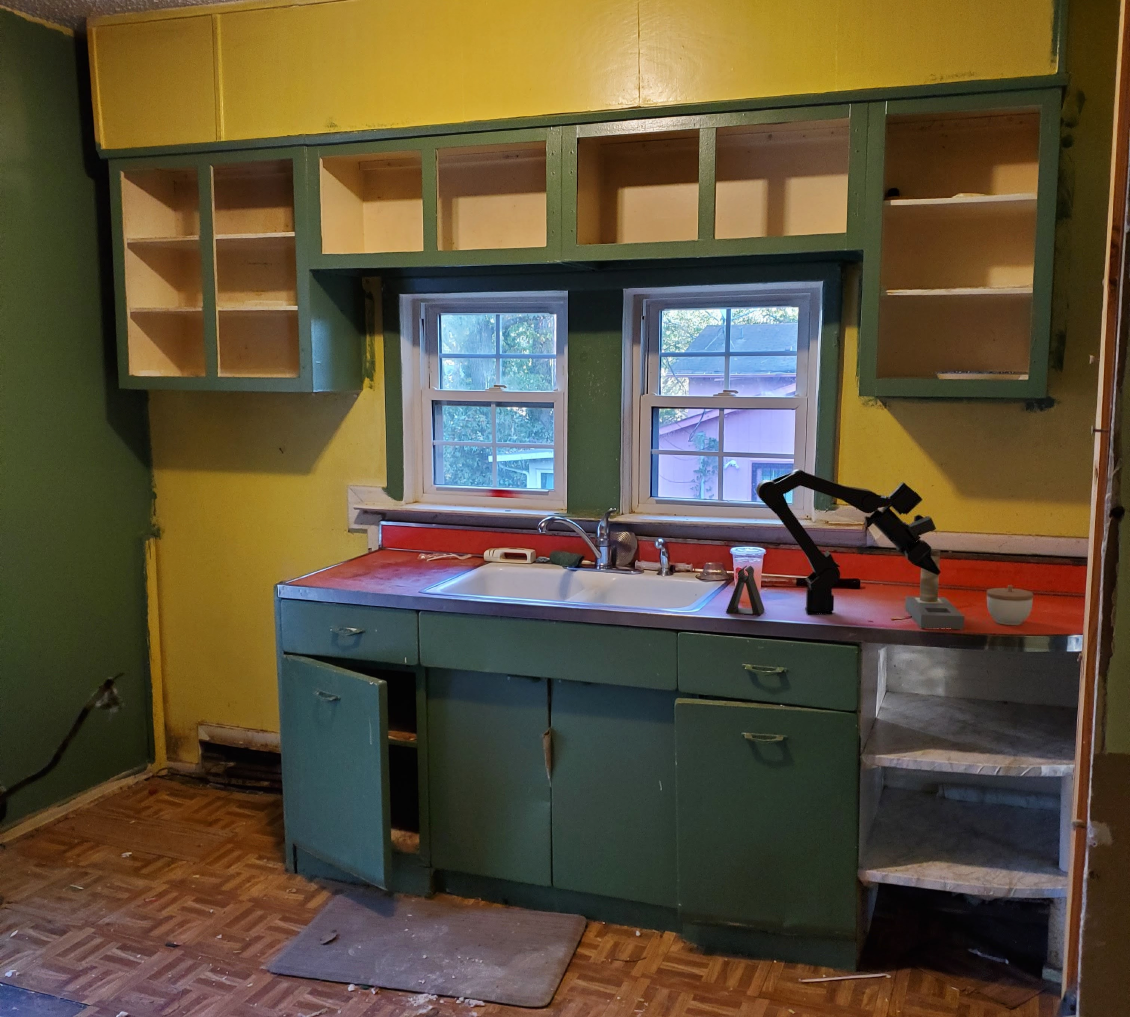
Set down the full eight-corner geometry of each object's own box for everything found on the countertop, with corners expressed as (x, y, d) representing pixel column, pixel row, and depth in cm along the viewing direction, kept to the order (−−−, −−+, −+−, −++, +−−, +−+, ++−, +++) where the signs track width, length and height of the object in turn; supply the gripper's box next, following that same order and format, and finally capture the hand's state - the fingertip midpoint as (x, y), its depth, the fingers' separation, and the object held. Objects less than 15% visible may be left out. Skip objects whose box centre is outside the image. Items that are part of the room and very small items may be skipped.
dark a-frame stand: (764, 611, 277) (765, 566, 276) (759, 616, 272) (760, 570, 270) (731, 608, 281) (731, 564, 279) (725, 613, 275) (726, 568, 274)
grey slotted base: (920, 629, 256) (921, 614, 256) (905, 609, 278) (905, 595, 277) (963, 630, 255) (964, 615, 254) (944, 610, 276) (944, 596, 276)
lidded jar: (1035, 628, 256) (1036, 590, 255) (988, 626, 259) (989, 588, 258) (1028, 618, 267) (1030, 582, 265) (983, 616, 269) (984, 580, 268)
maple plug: (925, 602, 269) (927, 552, 268) (915, 598, 274) (917, 549, 272) (941, 601, 270) (943, 551, 269) (931, 598, 275) (933, 549, 273)
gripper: (923, 510, 260) (968, 555, 260) (909, 501, 279) (951, 543, 278) (889, 541, 262) (933, 585, 262) (878, 530, 281) (919, 572, 280)
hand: (935, 570), depth 271 cm, fingers open, 9 cm apart
